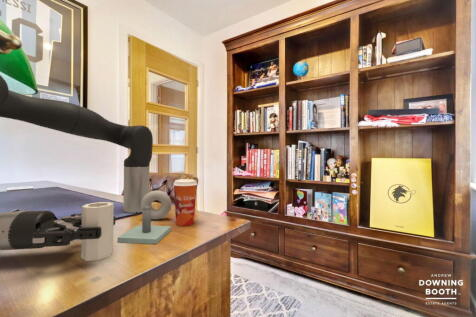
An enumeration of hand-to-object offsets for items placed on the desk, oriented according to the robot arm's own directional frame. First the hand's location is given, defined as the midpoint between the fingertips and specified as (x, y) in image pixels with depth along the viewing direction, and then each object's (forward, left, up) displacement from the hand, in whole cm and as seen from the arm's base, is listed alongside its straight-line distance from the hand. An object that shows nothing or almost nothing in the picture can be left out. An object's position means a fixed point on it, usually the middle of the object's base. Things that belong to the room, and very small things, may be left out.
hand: (108, 226), depth 48 cm
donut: (-26, -1, -6) cm, 27 cm away
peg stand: (-11, +3, -6) cm, 13 cm away
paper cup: (-23, +10, -6) cm, 26 cm away
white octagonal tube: (+1, -2, -6) cm, 7 cm away
